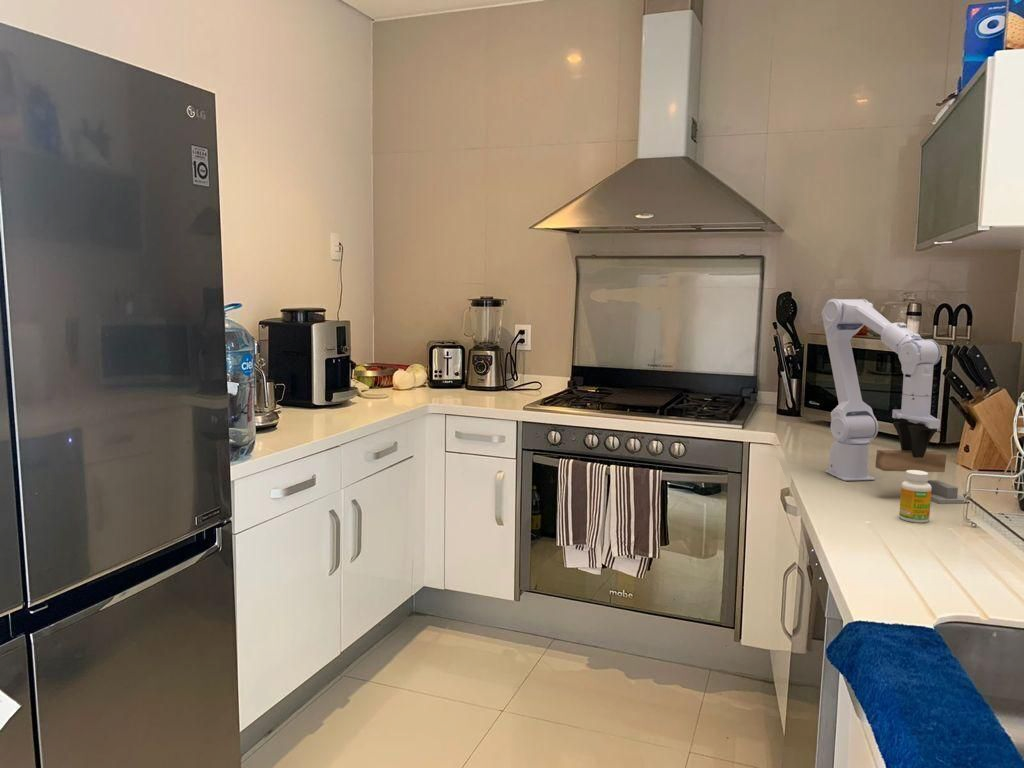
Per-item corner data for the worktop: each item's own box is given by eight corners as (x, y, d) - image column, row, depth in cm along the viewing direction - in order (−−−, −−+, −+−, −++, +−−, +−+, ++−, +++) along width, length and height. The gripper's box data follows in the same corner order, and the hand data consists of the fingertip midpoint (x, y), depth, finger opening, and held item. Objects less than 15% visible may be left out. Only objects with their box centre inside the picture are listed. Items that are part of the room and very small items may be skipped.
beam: (875, 467, 173) (877, 449, 173) (934, 468, 175) (936, 451, 174) (883, 470, 170) (885, 453, 170) (944, 472, 171) (946, 454, 171)
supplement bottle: (913, 524, 153) (916, 475, 152) (892, 516, 158) (896, 469, 157) (935, 522, 154) (939, 474, 153) (914, 514, 159) (918, 468, 158)
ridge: (914, 493, 176) (915, 479, 176) (943, 492, 177) (944, 478, 177) (939, 503, 168) (940, 489, 167) (969, 503, 168) (970, 488, 168)
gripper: (881, 390, 177) (877, 448, 179) (919, 399, 163) (914, 462, 164) (910, 390, 178) (906, 448, 179) (951, 399, 163) (946, 462, 165)
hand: (912, 455), depth 172 cm, fingers closed on beam, 3 cm apart
